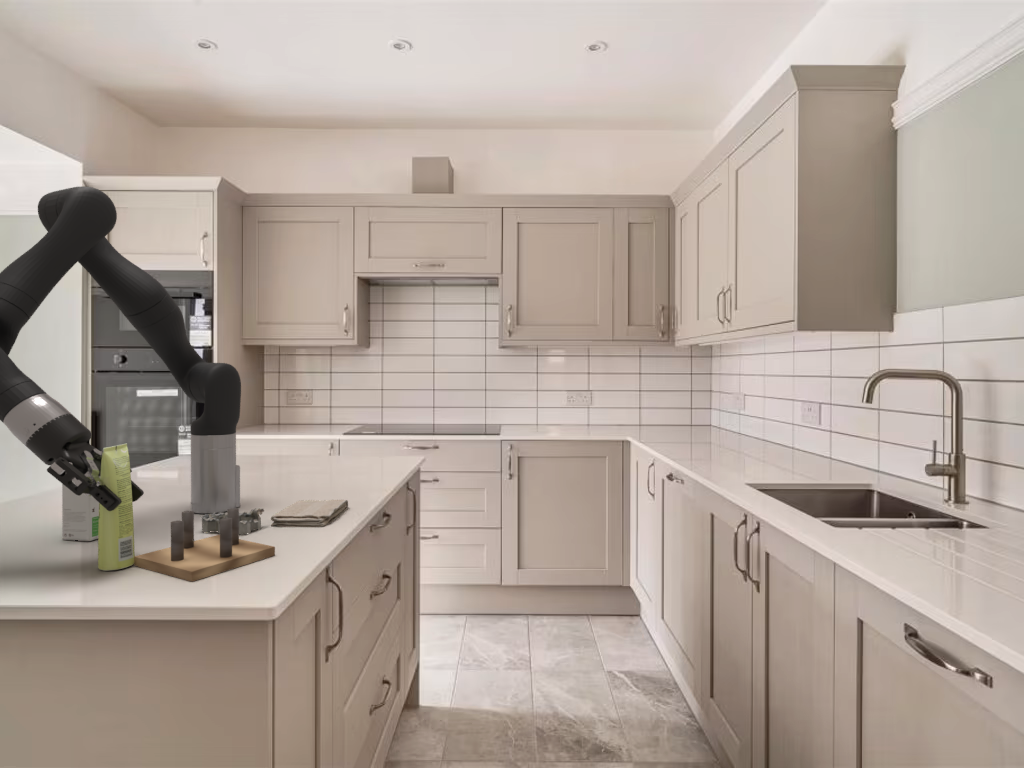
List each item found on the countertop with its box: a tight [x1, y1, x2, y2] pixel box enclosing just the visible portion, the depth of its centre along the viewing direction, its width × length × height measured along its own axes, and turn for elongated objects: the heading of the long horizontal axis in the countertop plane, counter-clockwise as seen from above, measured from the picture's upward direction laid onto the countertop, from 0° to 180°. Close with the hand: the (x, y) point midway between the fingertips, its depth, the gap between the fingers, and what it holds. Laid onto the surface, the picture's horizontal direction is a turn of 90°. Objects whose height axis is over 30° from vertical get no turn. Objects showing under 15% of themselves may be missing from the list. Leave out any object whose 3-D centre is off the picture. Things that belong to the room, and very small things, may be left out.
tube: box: [97, 443, 136, 572], centre depth 97 cm, size 6×5×20 cm
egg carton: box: [197, 508, 265, 535], centre depth 120 cm, size 11×8×4 cm
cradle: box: [133, 507, 276, 582], centre depth 100 cm, size 15×15×8 cm
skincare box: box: [61, 480, 99, 542], centre depth 115 cm, size 8×7×16 cm
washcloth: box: [270, 499, 349, 528], centre depth 131 cm, size 12×18×3 cm, turn 1°
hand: (128, 501), depth 97 cm, fingers closed on tube, 6 cm apart
